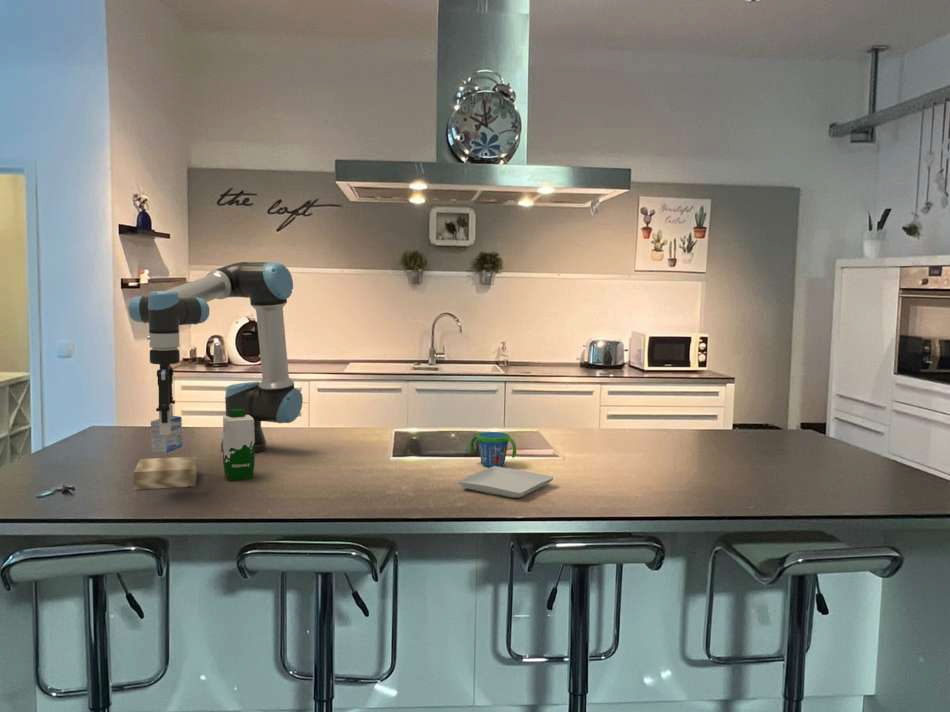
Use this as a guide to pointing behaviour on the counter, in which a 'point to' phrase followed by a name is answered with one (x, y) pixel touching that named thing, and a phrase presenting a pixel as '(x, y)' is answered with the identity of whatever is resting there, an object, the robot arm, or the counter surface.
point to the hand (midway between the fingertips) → (166, 431)
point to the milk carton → (238, 445)
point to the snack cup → (493, 448)
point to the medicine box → (167, 436)
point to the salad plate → (505, 481)
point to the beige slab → (165, 473)
